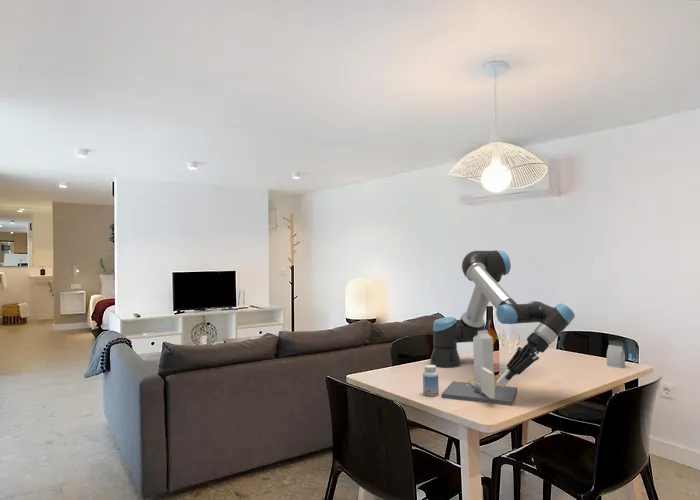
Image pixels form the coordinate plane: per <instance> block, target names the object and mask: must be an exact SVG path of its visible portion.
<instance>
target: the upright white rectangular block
mask: <svg viewBox="0 0 700 500" xmlns="http://www.w3.org/2000/svg"><path fill="white" fill-rule="evenodd" d="M493 372H494V371H493ZM493 372H491V371H490V370H488V369H486V368H481V382H480V381H476V382H472V381H470V380H468V381H467V383H470V384H471V385H472V386H474V391H475V392H480V393H481V394H486V395H487V396H488V397H489V398H495V388H494V385H495V373H493ZM473 383H474V384H473Z"/></svg>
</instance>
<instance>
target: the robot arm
mask: <svg viewBox="0 0 700 500" xmlns="http://www.w3.org/2000/svg"><path fill="white" fill-rule="evenodd" d="M511 266H512V265H511V260H510V257H509V255H508V253H506V251H503V250H497V249H495V250H471V251H470V252H468V253H467V254H466V255H465V256H464V258H463V260H462V262H461V270H462V272H463V275H464V276H465V277H466V279H467V280H468V281H470V282H473V284H474V285H475V286H474V288H473V291H472V293H471V297H470V300H469V303H468V306H467V309H466V311H465V312H463V313H462V314H461V316H460V317H461V318H460V319H457V318H456V317H453V316H449V317H448V316H447V317H439V318H437V319H435V320H434V321H433V323H432V335H433V336H432V337H433V338H432V340H433V350H432V353H431V356H430V359H429V360H430V363H429V365H435V366H436V368H437V367H439V368H456V367H460V366H461V361H462V360H461V358H460V355H459V352H458V348H457V347H458V343H473V337H475V336H476V335H478V331H482V330H486V329H485V326H486V327H487V325H486V322H485V320H484V316H485V314H486V310H487V308H488V305H489V303H491V304H492V306H493V307H494V308H495V309H496V311H495V315H496V318H497V320H498V322H499V323H500V324H502V325H515V324H517V325H518V324H531V323H539V324H538V326H537V327H536V328H535V329H534V330H533V332H531V334H529V335H528V336H527V338H526V341H527V343H526V344H524V346H523V347H521V346H519V347H518V348H517V349H516V352H515V353H514V354H513V356H512V357H511V359H510V360H509V361H508V363H507V364H506V367H507V368H506V370H505V371H504V372H503V374H501V376H500V377H499V378H498V379H497V380H496V383H497V385H498V386H501V387H504V386H507V384H508V383H509V382H510V380H511V379H512V378H513V377H514V376H516V375H517V376H518V375H519V376H520V375H521V374H522V373H523V372H525V370H527V368H529V367H530V366H531V365H532V364H533V363H534V362H536V361H538V360H539V359H540V357H539V356H538V355H539V353H544V352H545V351H546V350H547V349H548V348H549V346H550V345H551V344H552V343H553V342H555V341H556V339H557V338H558V337H559V336H560V335H561V333H562V332H563V331H564V330H565V329H566V328H567V327H568V326H569V325H570V324H571V323H572V321H573V320H574V318H575V317H576V315H575V312H574V311H573V310H572V309H571V308H570V307H569V306H568V305H566V304H564V303H558V304H557V305H555V306H554V307H553V306H552V305H551V306H550V305H549V304H545V303H543V302H542V301H537V300H531V301H529V302H528V303H517V302H516V301H515V300H514V299H513V298H512V297H511V296H510V295H509V293H507V291H505V289H504V288H503V287H502V286H501V285H500V284H499V283H500V281H501V279H502V278H503V276H506V275H508V274H509V273H510V272H511Z"/></svg>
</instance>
